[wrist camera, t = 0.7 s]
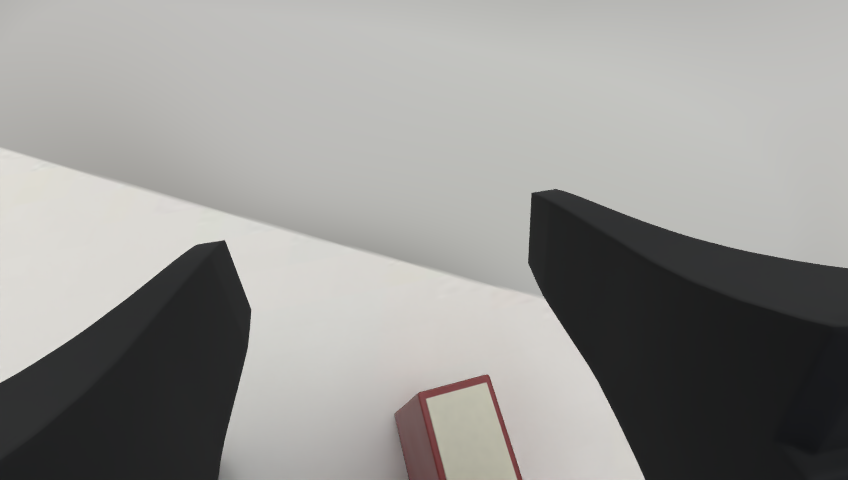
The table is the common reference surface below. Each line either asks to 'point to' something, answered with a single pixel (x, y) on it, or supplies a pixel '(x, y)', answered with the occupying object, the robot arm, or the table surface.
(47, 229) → the table surface
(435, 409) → the book
